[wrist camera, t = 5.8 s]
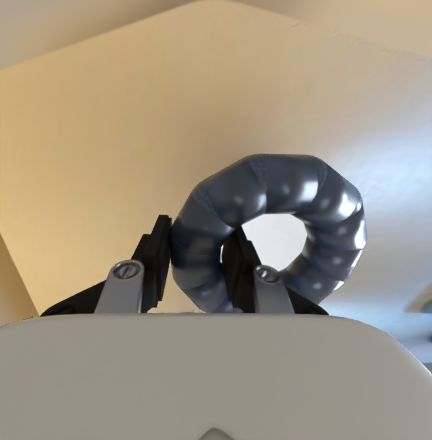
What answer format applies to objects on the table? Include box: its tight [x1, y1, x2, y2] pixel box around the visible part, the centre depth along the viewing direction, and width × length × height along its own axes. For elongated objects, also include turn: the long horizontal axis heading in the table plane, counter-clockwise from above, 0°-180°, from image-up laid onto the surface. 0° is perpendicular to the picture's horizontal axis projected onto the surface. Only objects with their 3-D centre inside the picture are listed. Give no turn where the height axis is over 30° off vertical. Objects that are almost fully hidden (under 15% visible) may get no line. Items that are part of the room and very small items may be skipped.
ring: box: [169, 154, 367, 313], centre depth 11 cm, size 12×12×3 cm
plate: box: [220, 214, 307, 271], centre depth 37 cm, size 28×28×2 cm
